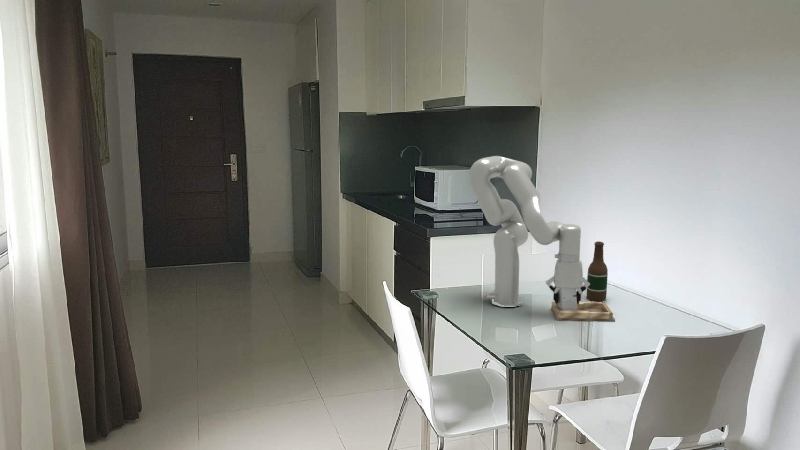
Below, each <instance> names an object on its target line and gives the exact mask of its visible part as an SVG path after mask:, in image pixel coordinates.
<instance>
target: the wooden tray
mask: <svg viewBox="0 0 800 450" xmlns="http://www.w3.org/2000/svg"><path fill="white" fill-rule="evenodd" d="M550 308H551V309H550V310H551V311H552V313H553V315H554V318H555V320H556V322H557V321H561V322H563V321H565V322H567V321H569V322H570V321H571V322H572V321H573V322H616V318H614V313H613V312H612V310H611V309H610V307H609V306H608V304H607V303H606V302H605V301H602V302H595V301H579V304H577V309H576V310H571V311H566V310H560V309H559V308H558V303H557V304H556V303H555V301H551V307H550Z"/></svg>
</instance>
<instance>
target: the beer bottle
mask: <svg viewBox="0 0 800 450" xmlns="http://www.w3.org/2000/svg"><path fill="white" fill-rule="evenodd" d="M604 245H605V243H604V241H598V240H597V241H595V242H594V251H593V257H592V261H591V263H590V264H589V266H588V268H587V278H586V280H587V281H588V282H589V283H590V285H589V286H588V287H587V288H586V299H587V300H589V302H605V301H606V299H607V290H608V289H607V288H608V275H609V273H608V272H609V271H608V266H607V264H606V262H605V260H604Z"/></svg>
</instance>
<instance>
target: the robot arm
mask: <svg viewBox="0 0 800 450" xmlns="http://www.w3.org/2000/svg"><path fill="white" fill-rule="evenodd" d="M532 176H533V171H532V168H531V166H530V165H529V164H527V163H525V162H523V161H521V160H520V161H519V160H516V159H512V158H508V157H504V156H501V155H492V156H488V157H486V156H485V157H481V158H480V159H478V160H476V161H474V163H473V164H472V165H471V167H470V168H469V171H468V183H469V186H470V189H471V190H472V192H473V194H474V196H475V197H476V200H477V202H478V204H479V206H480V209H481V211H482V213H483V215H484V217H485V219H486V221H487V223H489V225H492V226H494V227H495V226H500V225H501V228H499V229H498V230H497V231H496V232H495V234H494V236H493V248H494V261H495V262H494V290H493V291H491V292H482V296H483V298H486V300H491V299H494V302H497V303H499V304H501V305H504V306H519V307H521V306H522V305H523V300H522V298H519V293H520V287H519V286H520V280H519V279H520V256H519V249H518V248H519V247H520V246H523V245H524V244H526V242H527V240H528V238H529V233H530V235H531V236H532V238H533V239H534V241H536V243H538V244H539V245H542V246H548V245H550V244H552V243H554V242H557V241H558V242H559V243H558V253H557V254H554V258H555V259H557V260H556V263H555V266H554V267H555V268H554V274H553V276H552V277H551V278H549V279H547V280H546V281H545V285H546V286H547V287H548V288H549V289H550V290H551V291H552V292H553V302H555V303H556V304H557V303H558V290H559V289H560V288H576V295H577V304H579V302H582V301H581V300H582V294H583V292H585V290H586V291H587V287H588V286H589V285H590V283H589V282H588V281H587V278H585V277H583V276H584V274H583V272H584V271H583V264H582V261H581V260H580V255H581V254H580V253H581V252H580V251H581V239H582V238H581V237H582V236H581V235H582V228H581V226H580V225H577V224H571V223H569V224H566V223H561V222H558V221H553V220H551V221H549V222H548V221H547V222H546V220H545V219H544V217H543V216H542V213H541V209H540V201H541V196H540V195H541V194H540V192H539V191H538V190H537V188H536V186H535V185H534V183H533V182H532V181H531V179H532ZM494 178H500V179H502V180H503V181H504V183H505V185H506V187H507V188H508V189H509V191H510V192H511V195H513V197H514V199H515V200H516V202H517V203H518V205H519V207H520V210H521V212H520V211H519V209H518V207H517V205H516V204H515V203H514V202H513V201H511V200H510V199H506V198H502V199H501V197H500V194H499V193H498V190H497V188H496V186H494V185H493V182H491V179H494ZM520 213H521V214H520ZM521 215H522V216H521ZM552 283H554V286H553V285H552ZM521 304H522V305H521ZM520 305H521V306H520Z"/></svg>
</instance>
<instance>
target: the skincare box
mask: <svg viewBox="0 0 800 450" xmlns="http://www.w3.org/2000/svg"><path fill="white" fill-rule="evenodd" d="M576 292H577V289H576V288H560V289H559V290H558V308H559V309H560V310H566V311H571V310H576V309H577V295H576Z"/></svg>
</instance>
